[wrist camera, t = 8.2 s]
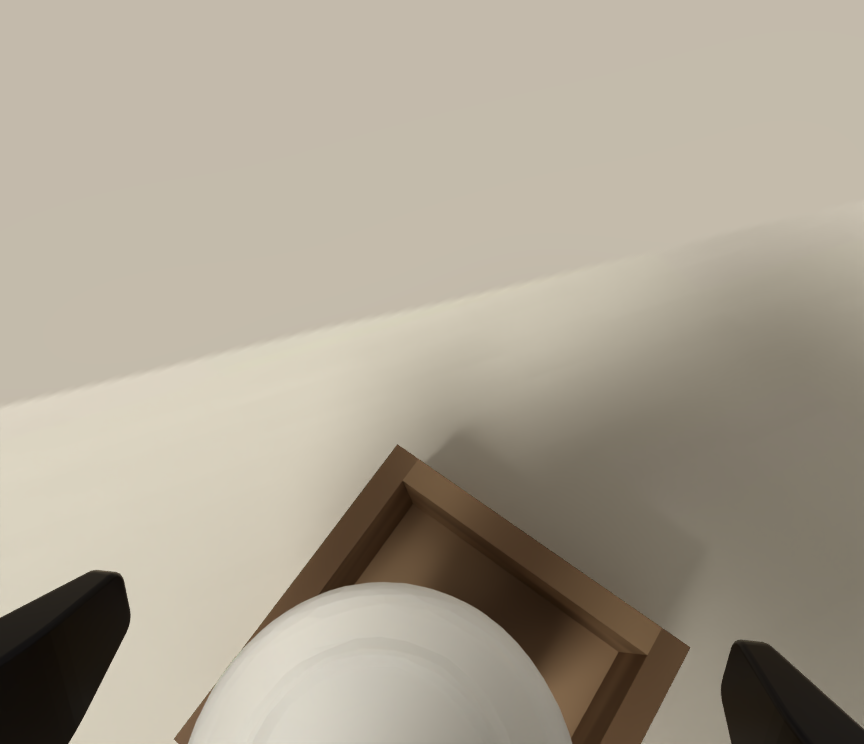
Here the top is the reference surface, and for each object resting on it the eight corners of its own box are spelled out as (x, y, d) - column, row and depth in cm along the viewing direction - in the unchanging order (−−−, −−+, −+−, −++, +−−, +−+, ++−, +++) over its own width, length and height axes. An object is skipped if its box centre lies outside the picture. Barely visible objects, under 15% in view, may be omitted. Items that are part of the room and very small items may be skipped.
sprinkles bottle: (468, 586, 20) (459, 509, 7) (542, 729, 18) (688, 935, 6) (342, 657, 19) (106, 699, 7) (406, 812, 17) (242, 1242, 5)
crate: (649, 645, 19) (690, 647, 16) (481, 957, 16) (483, 1048, 13) (409, 476, 22) (397, 444, 18) (230, 719, 19) (173, 738, 16)
